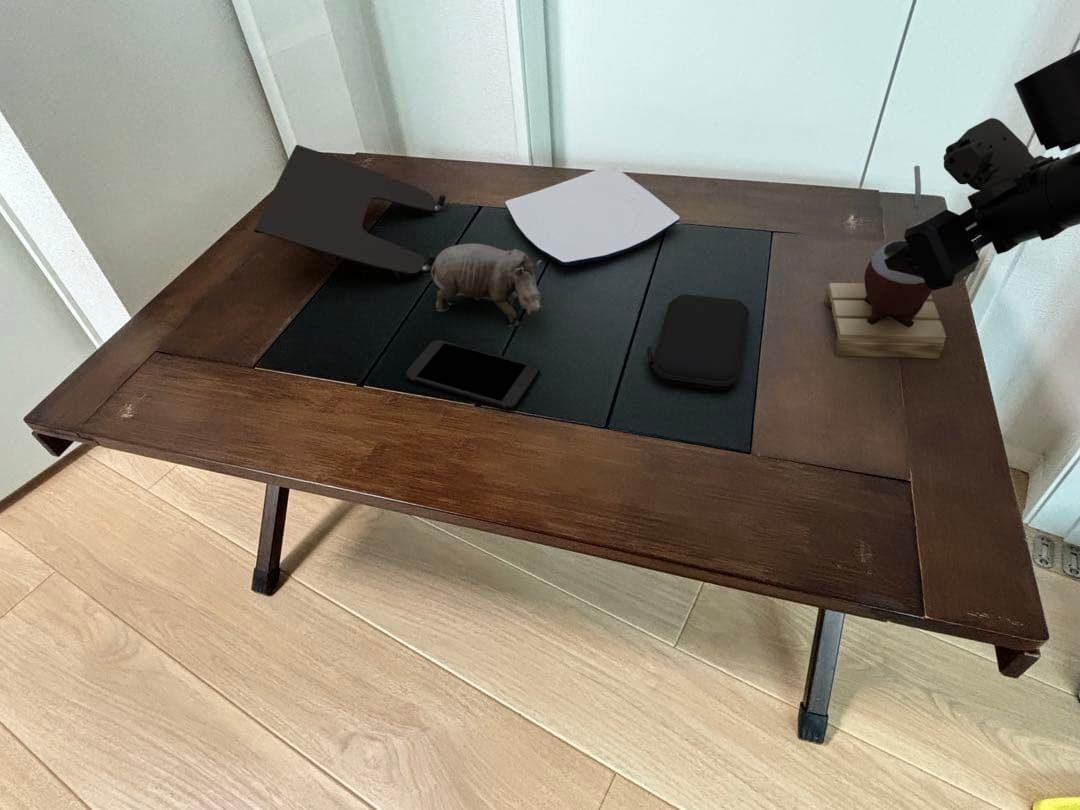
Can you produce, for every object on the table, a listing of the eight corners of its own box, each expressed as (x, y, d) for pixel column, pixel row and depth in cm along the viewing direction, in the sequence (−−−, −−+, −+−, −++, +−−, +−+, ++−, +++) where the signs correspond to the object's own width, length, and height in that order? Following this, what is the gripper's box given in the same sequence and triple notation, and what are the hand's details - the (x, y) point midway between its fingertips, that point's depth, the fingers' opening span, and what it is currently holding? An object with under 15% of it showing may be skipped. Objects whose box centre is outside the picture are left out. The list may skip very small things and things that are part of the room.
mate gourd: (892, 341, 78) (935, 221, 67) (835, 305, 83) (867, 188, 72) (938, 314, 81) (986, 194, 70) (880, 280, 85) (917, 164, 75)
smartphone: (434, 341, 89) (433, 335, 89) (542, 370, 84) (542, 364, 83) (402, 380, 85) (400, 375, 84) (514, 414, 80) (513, 408, 79)
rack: (919, 302, 87) (926, 282, 85) (938, 358, 80) (947, 338, 78) (824, 300, 88) (829, 281, 86) (835, 355, 82) (840, 335, 80)
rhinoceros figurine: (443, 258, 97) (480, 193, 85) (523, 319, 99) (571, 265, 87) (412, 295, 94) (446, 233, 81) (495, 359, 95) (542, 308, 83)
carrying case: (662, 304, 91) (639, 385, 81) (663, 285, 88) (639, 365, 79) (749, 314, 88) (735, 399, 78) (752, 295, 86) (738, 379, 76)
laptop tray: (415, 321, 102) (433, 271, 96) (248, 272, 96) (255, 216, 90) (432, 231, 118) (448, 183, 112) (289, 184, 112) (298, 131, 106)
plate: (689, 235, 101) (691, 218, 99) (562, 285, 95) (560, 268, 93) (614, 175, 114) (613, 160, 112) (498, 216, 108) (495, 200, 106)
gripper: (1092, 70, 63) (940, 147, 78) (959, 141, 57) (821, 210, 71) (1143, 186, 64) (983, 240, 78) (1016, 268, 57) (868, 310, 72)
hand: (915, 247), depth 75 cm, fingers open, 9 cm apart
